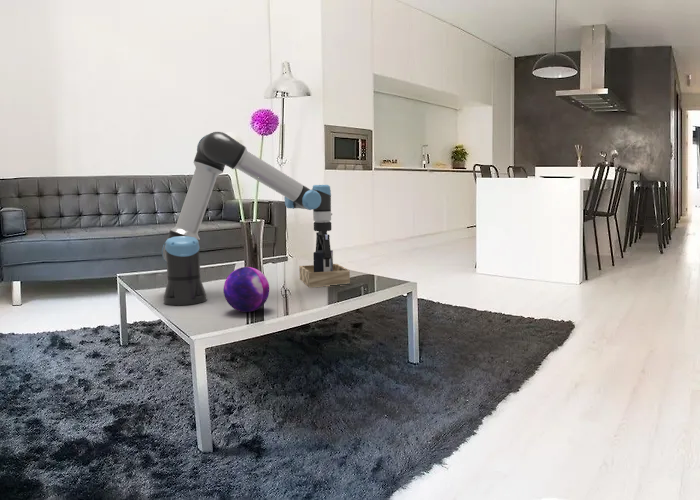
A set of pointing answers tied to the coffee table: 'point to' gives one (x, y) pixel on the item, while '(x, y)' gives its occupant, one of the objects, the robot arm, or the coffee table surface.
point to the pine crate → (324, 276)
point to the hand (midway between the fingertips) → (323, 272)
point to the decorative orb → (246, 289)
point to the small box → (321, 261)
